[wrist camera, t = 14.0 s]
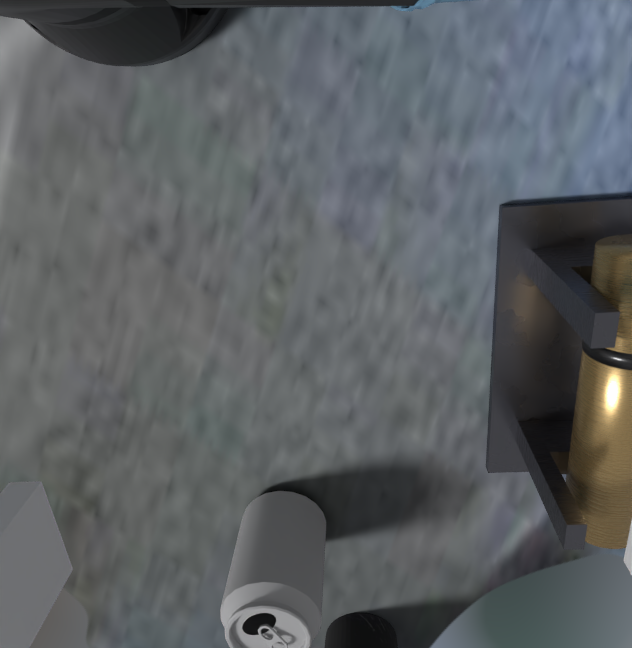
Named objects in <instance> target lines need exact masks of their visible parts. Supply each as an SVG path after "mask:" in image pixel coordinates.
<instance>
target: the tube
mask: <svg viewBox="0 0 632 648" xmlns="http://www.w3.org/2000/svg"><path fill="white" fill-rule="evenodd" d="M590 285H591V286H592V287H593V288H594V289H595V290H596V291H597V292H598V293H600V294H601V295H602V296H603V297H604V298H605V299H606V300H607V301H609V302H610V303H611V304H612V305H613V306H614V307H615V308H616V309H617V310H619V311H620V316H619V323H618V329H617V336H616V342H615V347H614V348H593V349H591V348H590V347H589V346H588V345H587V344H586V343H585V342H584V340H582V355H581V363H580V371H579V379H578V387H577V395H576V403H575V411H574V419H573V427H572V435H571V443H570V452H569V460H568V468H567V476H566V484H567V486H568V488H569V490H570V492H571V494H572V496H573V498H574V500H575V501H576V503H577V505H578V507H579V509H580V511H581V513H582V515H583V517H584V519H585V521H586V523H587V524H588V525H587V531H586V538H585V542H587V543H590V544H592V545H595V546H598V547H603V548H609V549H621V548H626V546H627V541H628V536H629V531H630V526H631V521H632V234H626V235H616V236H610V237H606V238H603V239H600V240H598V241H597V242H596V244H595V251H594V259H593V267H592V275H591V283H590Z"/></svg>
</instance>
